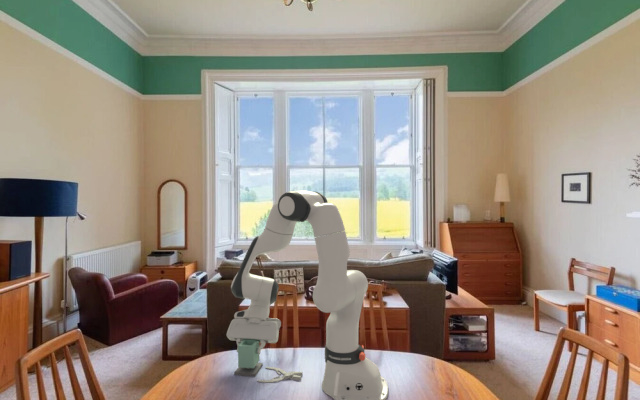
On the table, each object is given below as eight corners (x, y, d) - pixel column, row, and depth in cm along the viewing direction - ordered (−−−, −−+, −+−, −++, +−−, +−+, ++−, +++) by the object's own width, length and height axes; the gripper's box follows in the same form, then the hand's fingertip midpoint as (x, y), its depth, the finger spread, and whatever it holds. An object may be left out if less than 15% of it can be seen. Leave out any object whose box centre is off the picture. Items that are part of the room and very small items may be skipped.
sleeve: (259, 360, 127) (259, 339, 127) (253, 368, 121) (253, 346, 121) (244, 359, 128) (244, 338, 128) (238, 367, 122) (237, 345, 122)
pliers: (266, 364, 126) (304, 367, 124) (266, 368, 126) (304, 371, 124) (257, 378, 116) (298, 382, 114) (257, 383, 116) (298, 386, 114)
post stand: (262, 365, 128) (262, 345, 127) (255, 376, 120) (254, 355, 120) (243, 363, 129) (242, 343, 129) (234, 374, 121) (234, 353, 121)
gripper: (283, 322, 133) (276, 357, 124) (236, 319, 137) (225, 353, 127) (280, 315, 129) (272, 351, 120) (231, 312, 132) (220, 347, 123)
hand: (248, 352), depth 124 cm, fingers closed on sleeve, 6 cm apart
